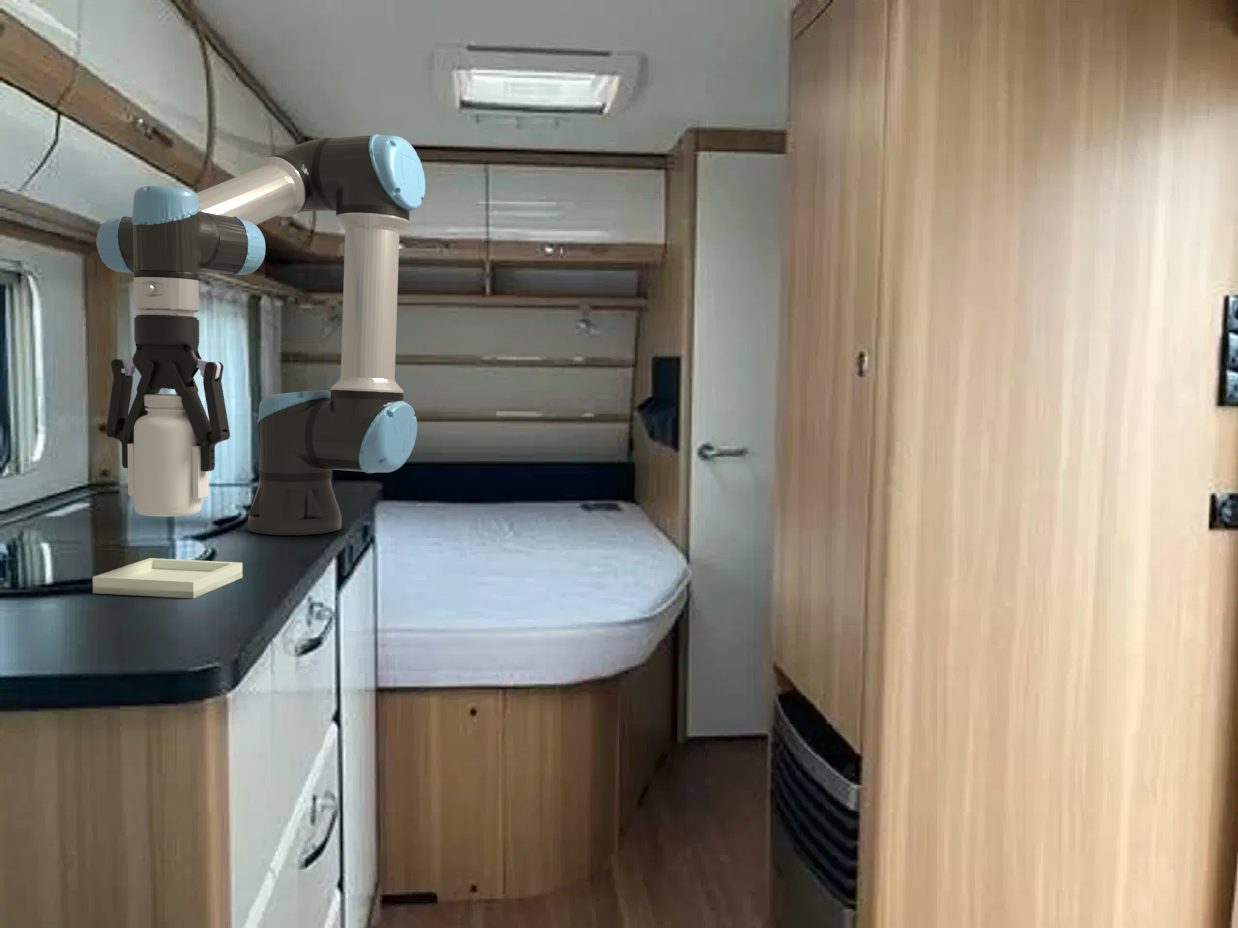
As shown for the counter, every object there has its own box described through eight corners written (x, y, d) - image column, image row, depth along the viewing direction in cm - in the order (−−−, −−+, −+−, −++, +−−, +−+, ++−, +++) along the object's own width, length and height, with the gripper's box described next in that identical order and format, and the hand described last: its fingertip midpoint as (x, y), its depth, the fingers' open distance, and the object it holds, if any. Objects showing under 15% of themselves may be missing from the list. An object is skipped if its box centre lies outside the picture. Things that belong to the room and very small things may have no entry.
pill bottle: (147, 519, 135) (145, 395, 133) (125, 511, 141) (124, 393, 139) (212, 514, 140) (211, 395, 138) (188, 507, 146) (187, 393, 144)
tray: (150, 572, 148) (149, 557, 148) (242, 577, 147) (242, 562, 147) (93, 592, 136) (92, 576, 135) (193, 598, 134) (193, 582, 134)
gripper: (70, 311, 135) (74, 495, 138) (231, 314, 133) (232, 502, 135) (106, 313, 143) (109, 489, 145) (259, 317, 140) (259, 495, 143)
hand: (168, 495), depth 140 cm, fingers closed on pill bottle, 8 cm apart
